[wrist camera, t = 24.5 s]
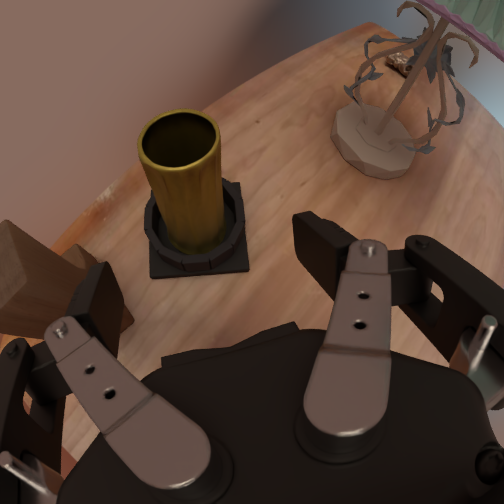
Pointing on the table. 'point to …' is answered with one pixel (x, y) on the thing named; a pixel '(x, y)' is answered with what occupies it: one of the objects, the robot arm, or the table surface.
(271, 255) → the table surface
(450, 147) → the table surface
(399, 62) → the ornament
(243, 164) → the table surface
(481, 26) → the table lamp
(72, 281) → the wooden block
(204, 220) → the vase
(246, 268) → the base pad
